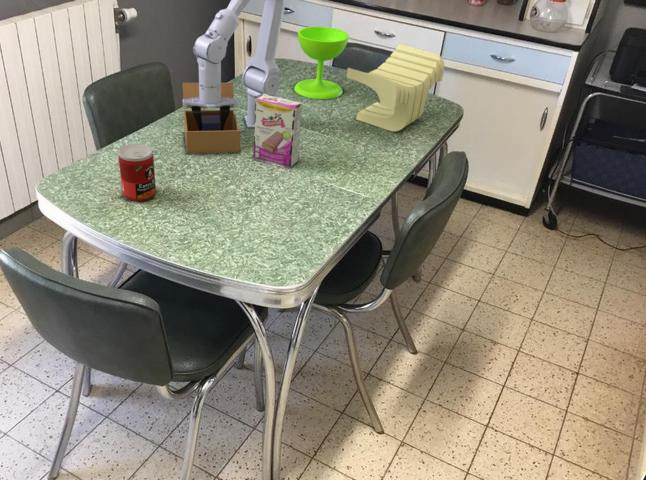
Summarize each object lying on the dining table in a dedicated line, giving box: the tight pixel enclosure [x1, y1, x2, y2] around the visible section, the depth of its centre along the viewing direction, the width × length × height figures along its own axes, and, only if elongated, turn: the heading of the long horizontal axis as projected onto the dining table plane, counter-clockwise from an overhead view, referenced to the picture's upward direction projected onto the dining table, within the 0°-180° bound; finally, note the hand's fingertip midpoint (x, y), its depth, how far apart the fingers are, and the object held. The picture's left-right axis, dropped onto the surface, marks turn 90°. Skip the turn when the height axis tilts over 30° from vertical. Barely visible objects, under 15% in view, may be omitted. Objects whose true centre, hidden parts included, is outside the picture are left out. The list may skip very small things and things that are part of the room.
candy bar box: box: [253, 94, 303, 168], centre depth 164 cm, size 11×5×16 cm, turn 65°
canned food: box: [117, 143, 157, 202], centre depth 148 cm, size 8×8×11 cm
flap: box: [182, 81, 235, 109], centre depth 176 cm, size 7×14×1 cm
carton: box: [183, 109, 241, 154], centre depth 173 cm, size 14×14×6 cm
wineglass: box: [293, 26, 350, 100], centre depth 205 cm, size 16×16×18 cm
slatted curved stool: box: [346, 43, 445, 133], centre depth 188 cm, size 30×16×18 cm, turn 144°
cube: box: [201, 115, 221, 131], centre depth 174 cm, size 5×5×5 cm
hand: (210, 132), depth 175 cm, fingers closed on cube, 5 cm apart
